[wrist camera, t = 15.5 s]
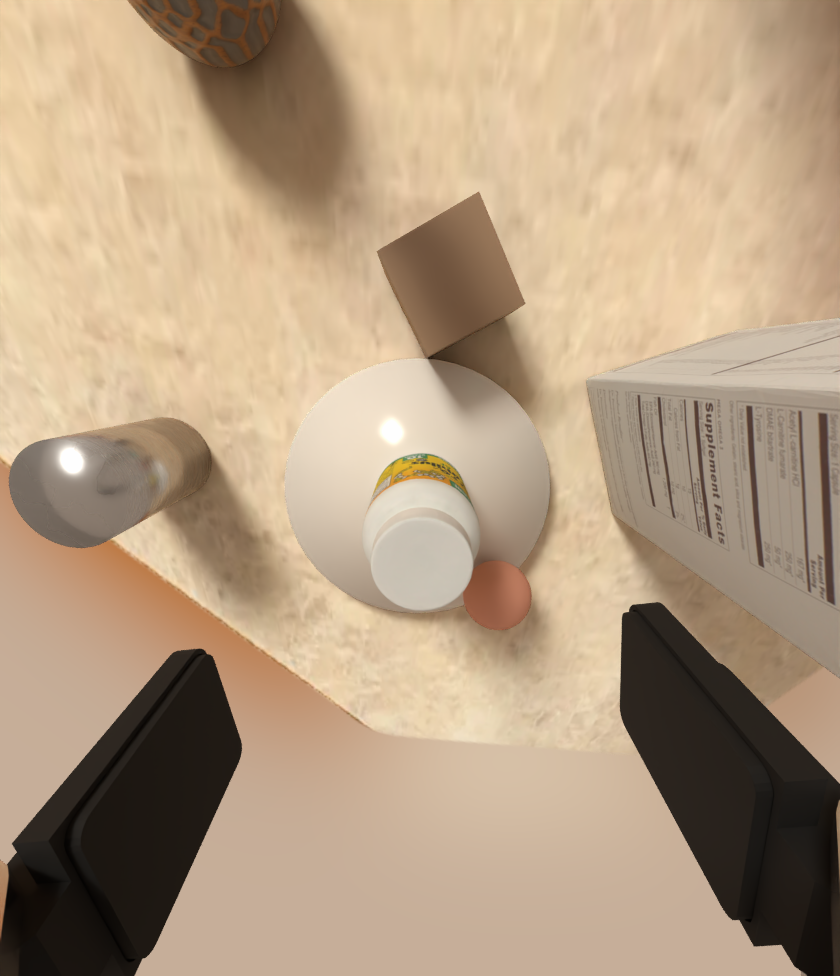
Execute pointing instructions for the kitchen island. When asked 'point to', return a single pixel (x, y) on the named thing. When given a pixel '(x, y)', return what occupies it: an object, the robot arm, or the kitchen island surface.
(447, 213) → the walnut block
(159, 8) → the vase
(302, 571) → the kitchen island surface
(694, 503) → the supplement box
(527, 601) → the rubber ball
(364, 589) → the white plate
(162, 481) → the steel canister
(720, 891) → the robot arm
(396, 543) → the supplement bottle
